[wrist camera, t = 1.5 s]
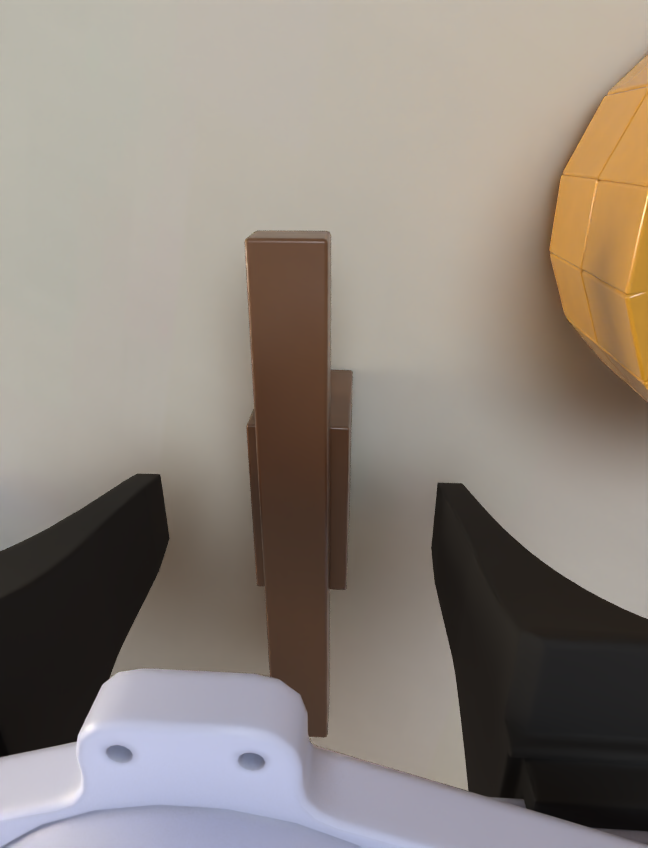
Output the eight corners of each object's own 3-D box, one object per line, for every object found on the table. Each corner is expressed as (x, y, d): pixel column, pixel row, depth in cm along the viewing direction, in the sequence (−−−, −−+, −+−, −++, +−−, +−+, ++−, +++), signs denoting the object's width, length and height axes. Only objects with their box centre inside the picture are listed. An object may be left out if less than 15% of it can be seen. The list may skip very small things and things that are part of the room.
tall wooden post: (347, 611, 22) (342, 739, 17) (280, 608, 22) (257, 734, 17) (356, 210, 16) (351, 238, 11) (263, 210, 16) (219, 238, 11)
